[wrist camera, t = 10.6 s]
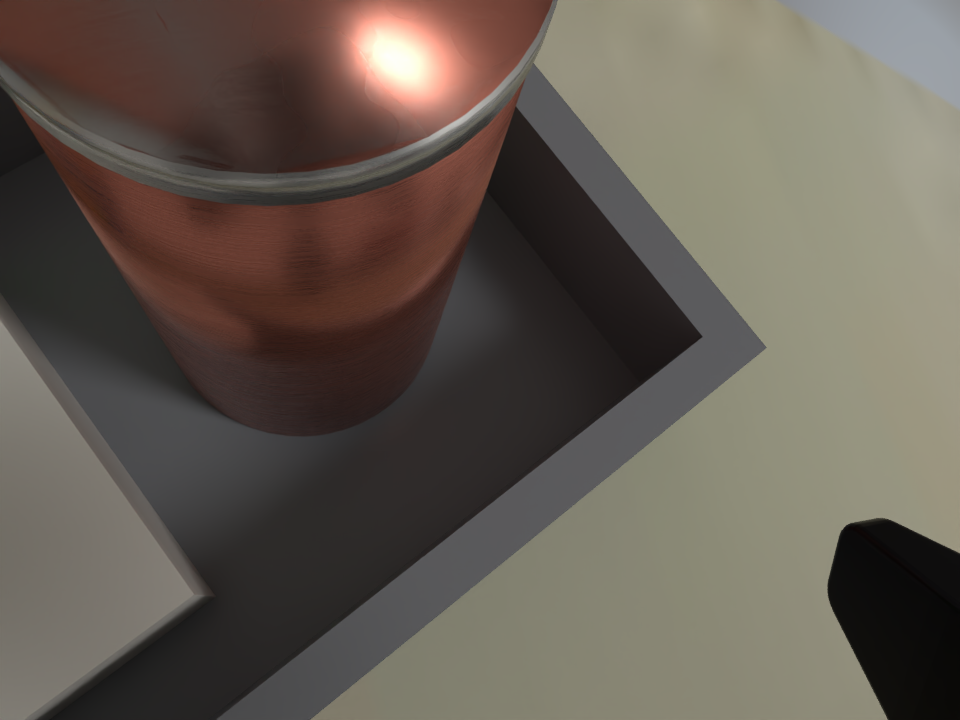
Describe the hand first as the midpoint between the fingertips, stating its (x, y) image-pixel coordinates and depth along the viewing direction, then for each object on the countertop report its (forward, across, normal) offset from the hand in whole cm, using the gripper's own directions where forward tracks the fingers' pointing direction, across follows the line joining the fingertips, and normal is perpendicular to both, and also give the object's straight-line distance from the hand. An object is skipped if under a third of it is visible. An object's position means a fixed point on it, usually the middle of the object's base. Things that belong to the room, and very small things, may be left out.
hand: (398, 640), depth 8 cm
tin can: (+14, 0, +4) cm, 14 cm away
